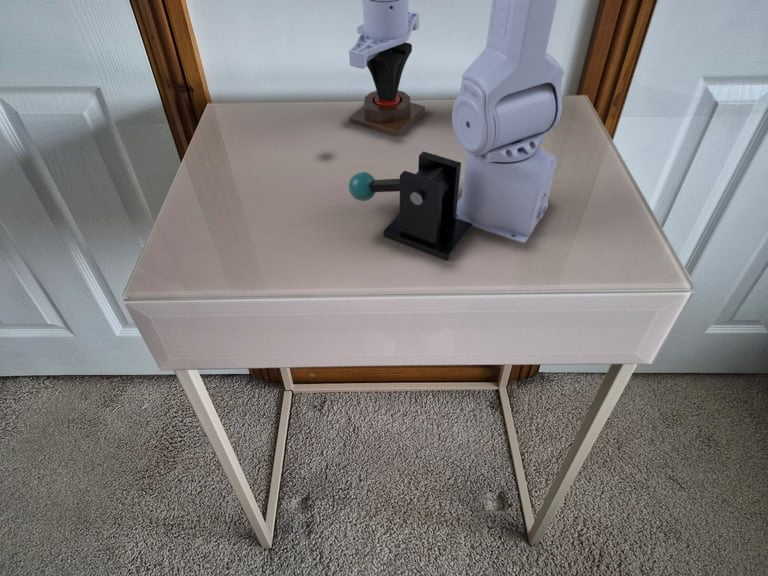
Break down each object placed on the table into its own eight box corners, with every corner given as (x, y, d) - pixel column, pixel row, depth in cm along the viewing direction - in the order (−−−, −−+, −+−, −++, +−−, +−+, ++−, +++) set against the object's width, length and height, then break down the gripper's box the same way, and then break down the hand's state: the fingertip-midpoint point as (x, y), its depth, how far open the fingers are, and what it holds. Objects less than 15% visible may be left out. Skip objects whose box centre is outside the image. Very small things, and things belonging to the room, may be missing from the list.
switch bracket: (383, 239, 61) (381, 172, 54) (409, 210, 64) (410, 144, 58) (447, 263, 58) (453, 196, 51) (471, 231, 61) (479, 164, 55)
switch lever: (349, 206, 62) (339, 181, 60) (364, 191, 64) (354, 167, 62) (439, 205, 55) (429, 177, 53) (452, 188, 57) (444, 161, 55)
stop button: (404, 107, 78) (404, 95, 77) (392, 118, 76) (391, 106, 75) (383, 101, 80) (382, 90, 78) (370, 112, 77) (369, 100, 76)
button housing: (425, 113, 80) (425, 94, 78) (397, 139, 75) (397, 119, 73) (378, 101, 83) (377, 82, 81) (349, 124, 78) (348, 105, 76)
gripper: (387, -28, 72) (388, 72, 82) (324, 7, 64) (334, 114, 74) (434, -20, 70) (430, 82, 80) (375, 18, 61) (379, 127, 71)
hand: (387, 98), depth 77 cm, fingers closed, pressing on stop button
